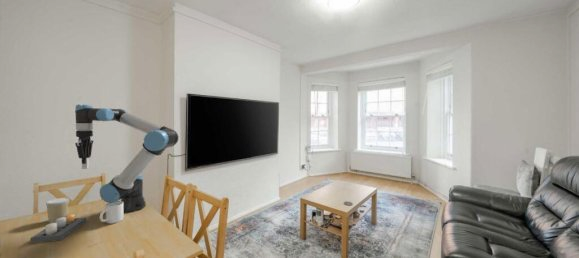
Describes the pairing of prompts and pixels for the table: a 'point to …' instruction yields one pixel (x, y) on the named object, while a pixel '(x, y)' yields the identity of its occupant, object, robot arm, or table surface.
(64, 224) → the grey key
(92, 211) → the table surface
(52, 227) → the white rounded block
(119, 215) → the mug
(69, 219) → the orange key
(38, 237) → the panel
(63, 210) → the coffee cup
